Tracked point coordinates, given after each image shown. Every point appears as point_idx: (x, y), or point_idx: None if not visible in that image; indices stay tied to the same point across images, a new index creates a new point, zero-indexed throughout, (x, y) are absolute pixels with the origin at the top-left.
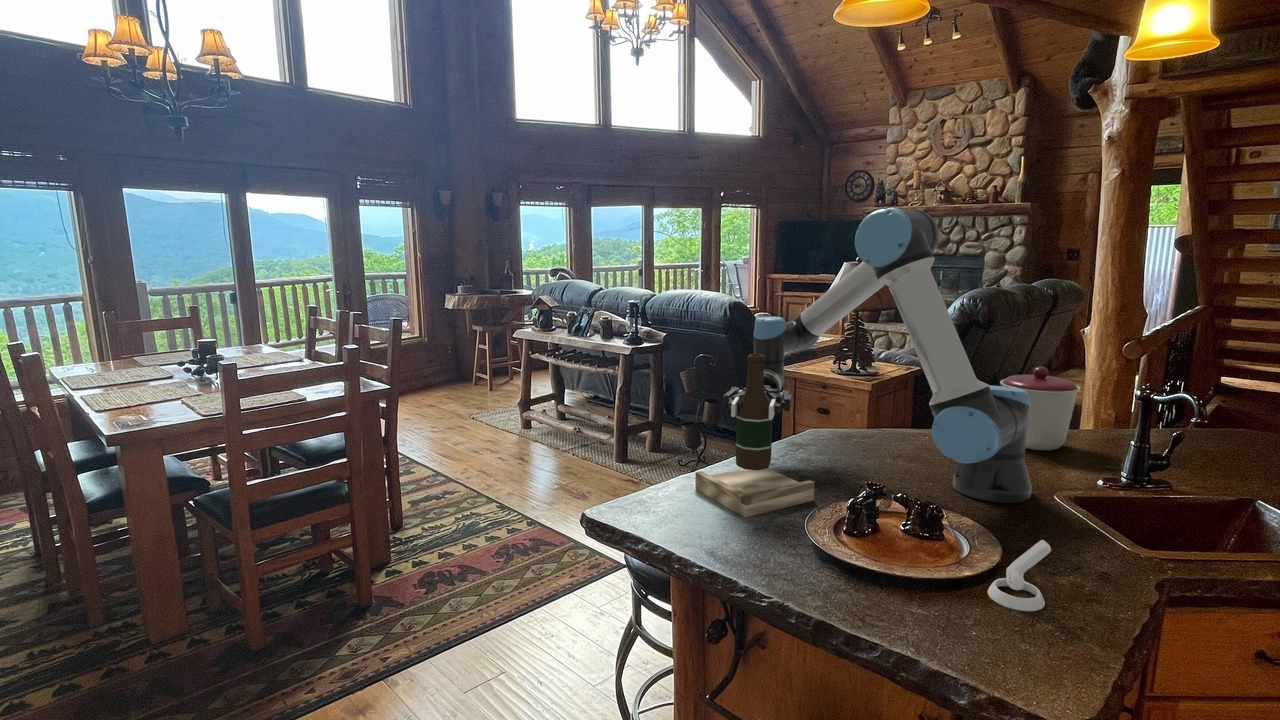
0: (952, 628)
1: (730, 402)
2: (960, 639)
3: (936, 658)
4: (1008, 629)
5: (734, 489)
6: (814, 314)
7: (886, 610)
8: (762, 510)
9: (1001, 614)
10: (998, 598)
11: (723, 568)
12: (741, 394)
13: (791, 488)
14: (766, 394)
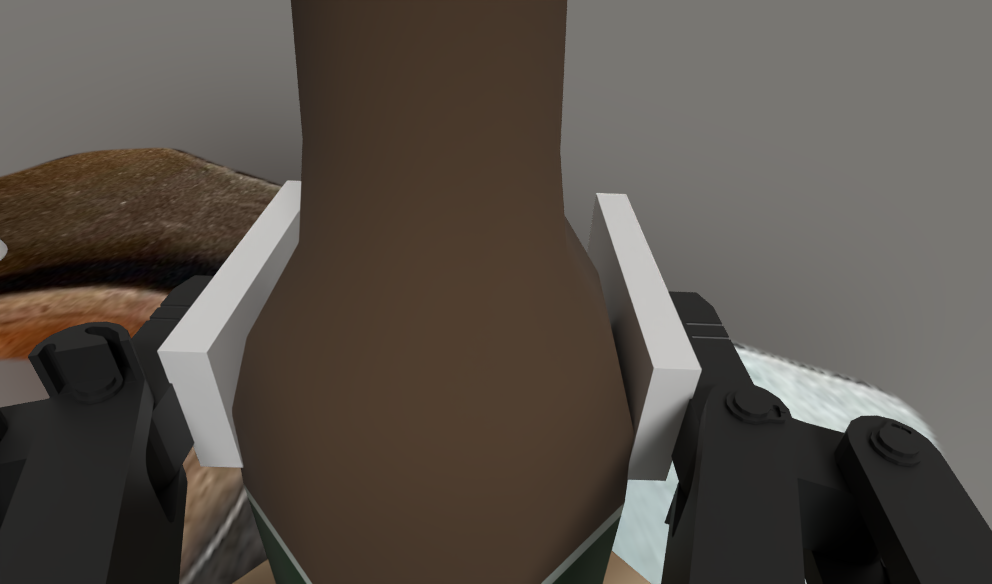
0: (148, 205)
1: (691, 303)
2: (154, 194)
3: (212, 175)
4: (61, 210)
5: None
6: None
7: (224, 221)
8: None
9: (34, 229)
10: (1, 242)
11: None
12: (717, 572)
13: (248, 576)
14: (282, 272)
